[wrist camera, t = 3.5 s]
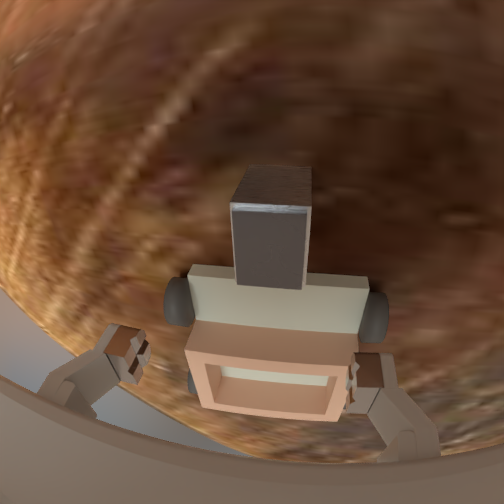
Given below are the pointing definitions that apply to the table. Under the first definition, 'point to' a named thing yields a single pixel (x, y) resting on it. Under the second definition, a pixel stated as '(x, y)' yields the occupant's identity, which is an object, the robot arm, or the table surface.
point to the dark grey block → (272, 226)
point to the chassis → (273, 340)
